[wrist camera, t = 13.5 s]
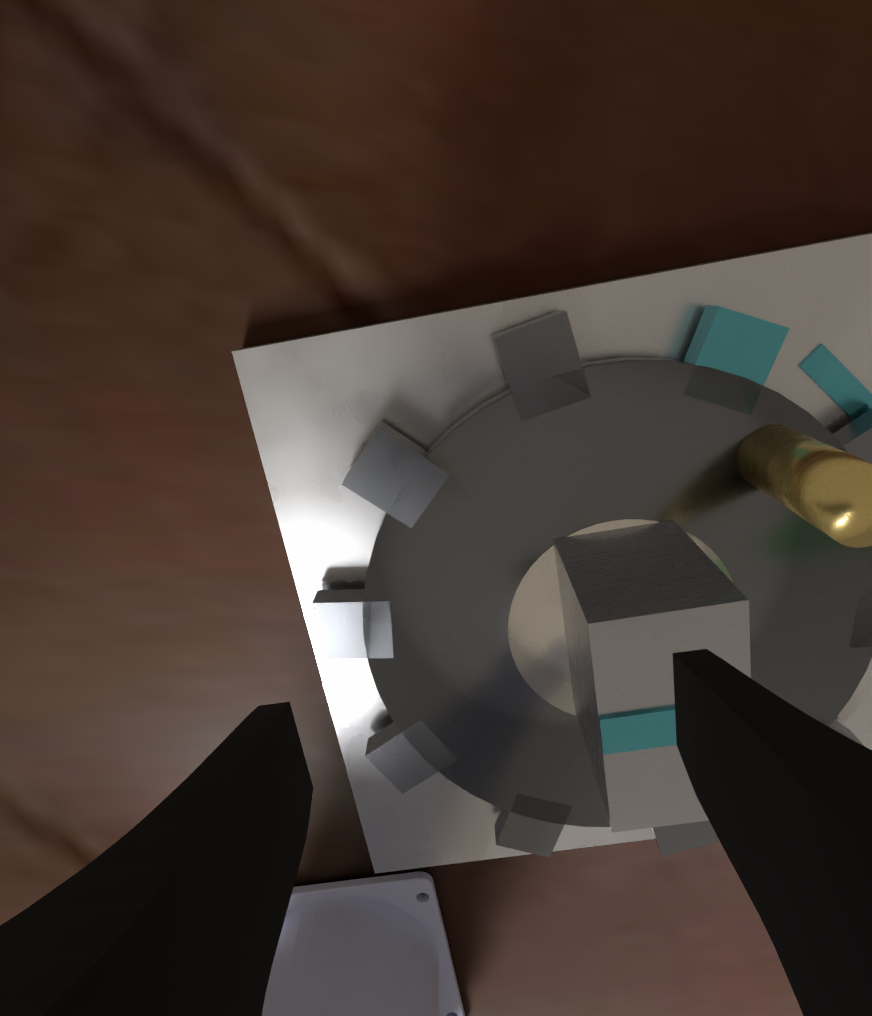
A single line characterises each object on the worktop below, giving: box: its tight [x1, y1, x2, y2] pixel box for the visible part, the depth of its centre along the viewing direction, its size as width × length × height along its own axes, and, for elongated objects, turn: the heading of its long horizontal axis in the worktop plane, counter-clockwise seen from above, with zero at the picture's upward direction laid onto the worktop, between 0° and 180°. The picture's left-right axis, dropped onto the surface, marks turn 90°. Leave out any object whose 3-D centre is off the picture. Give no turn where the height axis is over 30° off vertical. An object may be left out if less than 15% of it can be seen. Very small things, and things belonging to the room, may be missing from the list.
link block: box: [553, 520, 751, 833], centre depth 18 cm, size 6×4×5 cm, turn 10°
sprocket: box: [312, 305, 872, 858], centre depth 19 cm, size 19×19×5 cm
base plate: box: [232, 232, 872, 873], centre depth 22 cm, size 20×20×1 cm
